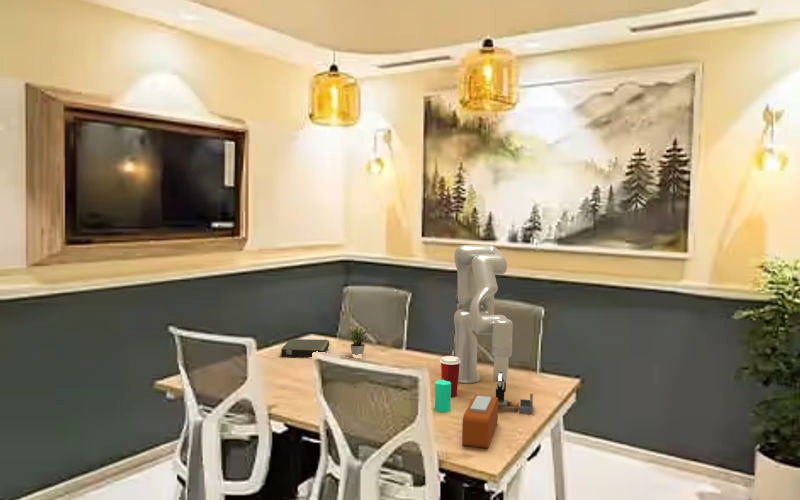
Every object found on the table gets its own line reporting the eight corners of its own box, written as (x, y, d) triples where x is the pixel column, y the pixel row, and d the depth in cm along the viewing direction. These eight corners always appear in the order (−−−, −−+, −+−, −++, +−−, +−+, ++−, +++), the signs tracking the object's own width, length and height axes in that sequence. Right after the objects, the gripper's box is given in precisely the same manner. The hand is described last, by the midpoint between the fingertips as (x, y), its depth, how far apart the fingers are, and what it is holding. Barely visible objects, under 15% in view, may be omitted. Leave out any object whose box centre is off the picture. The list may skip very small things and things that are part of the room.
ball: (509, 409, 228) (510, 401, 228) (510, 406, 232) (510, 398, 231) (518, 410, 228) (519, 402, 227) (519, 407, 231) (519, 399, 231)
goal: (519, 413, 225) (519, 400, 224) (520, 405, 234) (520, 392, 233) (532, 414, 224) (532, 401, 223) (532, 406, 233) (532, 393, 232)
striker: (492, 408, 229) (493, 384, 229) (493, 404, 234) (494, 380, 233) (506, 409, 228) (507, 385, 227) (506, 405, 233) (507, 381, 232)
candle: (445, 413, 224) (446, 381, 223) (431, 410, 227) (432, 379, 226) (453, 408, 229) (453, 377, 228) (439, 405, 232) (439, 375, 231)
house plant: (371, 362, 291) (371, 328, 290) (342, 361, 291) (343, 328, 290) (373, 354, 305) (373, 322, 304) (345, 353, 306) (346, 322, 304)
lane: (472, 408, 230) (472, 404, 229) (474, 401, 237) (474, 397, 237) (518, 412, 226) (518, 408, 226) (518, 405, 233) (519, 401, 233)
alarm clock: (474, 421, 217) (475, 390, 216) (497, 423, 215) (498, 392, 214) (461, 447, 194) (462, 412, 193) (487, 450, 192) (488, 415, 191)
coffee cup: (461, 392, 248) (462, 356, 247) (456, 398, 240) (457, 361, 239) (442, 390, 251) (442, 354, 249) (436, 396, 243) (437, 359, 241)
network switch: (284, 347, 317) (284, 338, 317) (329, 347, 320) (329, 338, 319) (280, 359, 294) (280, 349, 293) (328, 359, 296) (329, 349, 296)
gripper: (493, 345, 238) (492, 387, 240) (490, 356, 221) (488, 401, 223) (512, 346, 237) (511, 389, 238) (510, 357, 220) (509, 403, 221)
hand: (500, 395), depth 230 cm, fingers open, 9 cm apart
